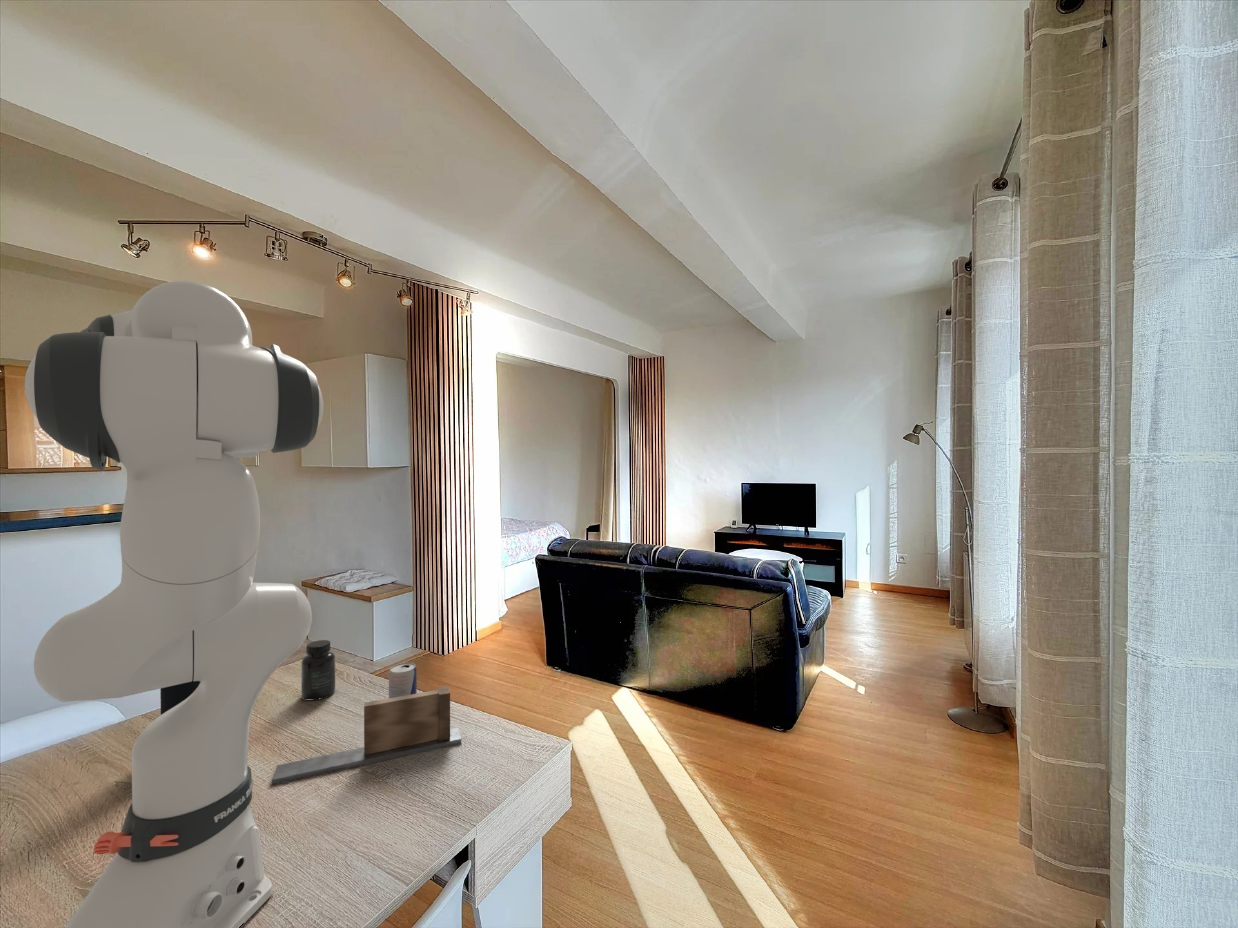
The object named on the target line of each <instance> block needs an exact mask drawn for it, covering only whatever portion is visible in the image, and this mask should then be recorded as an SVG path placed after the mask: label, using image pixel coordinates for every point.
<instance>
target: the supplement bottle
mask: <svg viewBox="0 0 1238 928" xmlns="http://www.w3.org/2000/svg"><path fill="white" fill-rule="evenodd" d="M305 649H306V650H305V651H306V652H305V654H306V655H305V656H304V657H303V658H302V660H301V663H300V666H301V667H300V669H301V673H300V674H301V680H300V681H301V683H300V684H301V689H300V690H301V698H302V699H303V698H304V699H303V700H305V699H319V698H323V699H325V698H324V697H326V696H328V697H329V695H330V696H332V695H333V694H334V693H333V692H335V691H336V655H335V653H334V652H332V651H331V650H332V647H331V641H330V640H326V639H322V640H321V639H319V640H315V641H311V642H308V643H307V644H306V648H305ZM332 693H333V694H332ZM331 694H332V695H331ZM326 698H327V697H326Z"/></svg>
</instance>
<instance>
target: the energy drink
mask: <svg viewBox="0 0 1238 928" xmlns="http://www.w3.org/2000/svg"><path fill="white" fill-rule="evenodd" d="M417 672H418V671H417V667H416V664H415V663H413V662H401V663H397V664H394V665H393V666H391V667H390V668H389V672H388V699H389V698H394V697H400V696H406V695H411V694H417V693H418V692H417V690H418V689H417V686H418V685H417V682H418V681H417V678H418V677H417V675H418V673H417Z"/></svg>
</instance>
